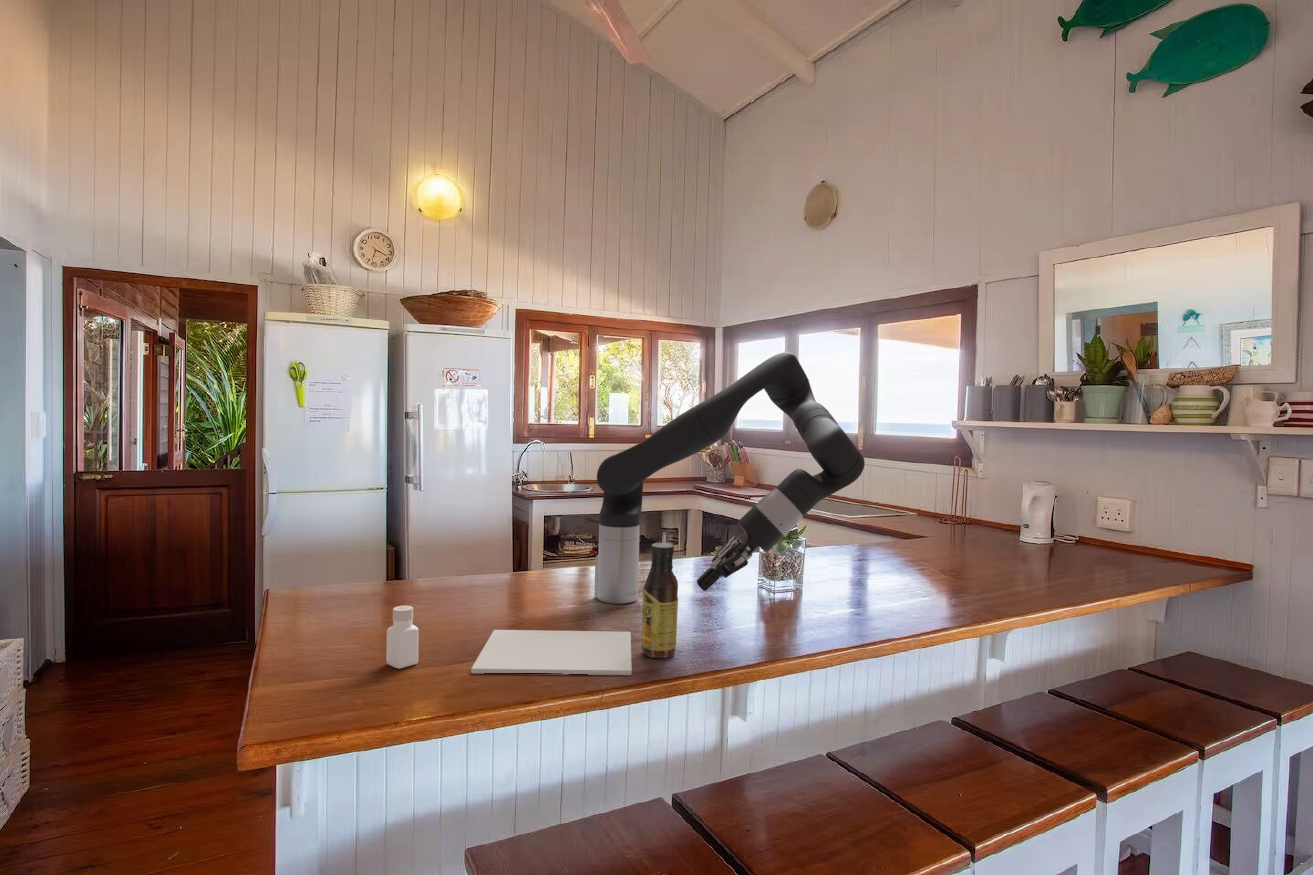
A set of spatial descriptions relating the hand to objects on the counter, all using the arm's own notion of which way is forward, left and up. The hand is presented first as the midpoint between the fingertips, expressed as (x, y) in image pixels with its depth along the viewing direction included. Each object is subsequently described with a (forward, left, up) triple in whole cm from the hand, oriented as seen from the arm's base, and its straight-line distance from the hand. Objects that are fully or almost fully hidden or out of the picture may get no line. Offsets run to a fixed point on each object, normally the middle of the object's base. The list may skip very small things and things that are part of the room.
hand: (700, 586), depth 125 cm
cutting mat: (-18, -18, -12) cm, 28 cm away
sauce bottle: (-5, -5, -13) cm, 14 cm away
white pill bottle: (-31, -40, -13) cm, 52 cm away
